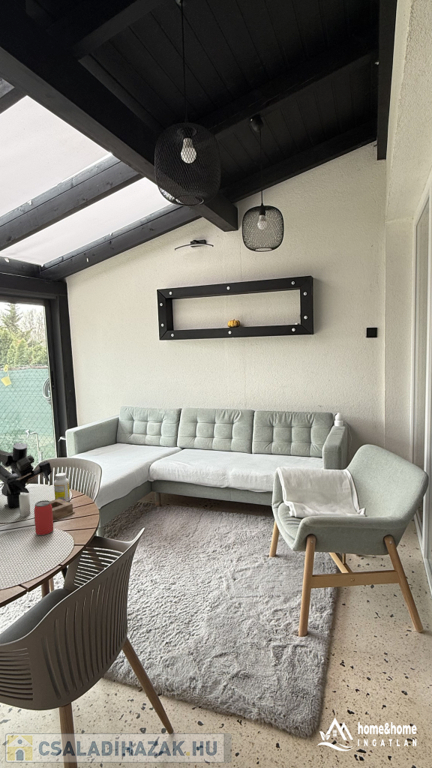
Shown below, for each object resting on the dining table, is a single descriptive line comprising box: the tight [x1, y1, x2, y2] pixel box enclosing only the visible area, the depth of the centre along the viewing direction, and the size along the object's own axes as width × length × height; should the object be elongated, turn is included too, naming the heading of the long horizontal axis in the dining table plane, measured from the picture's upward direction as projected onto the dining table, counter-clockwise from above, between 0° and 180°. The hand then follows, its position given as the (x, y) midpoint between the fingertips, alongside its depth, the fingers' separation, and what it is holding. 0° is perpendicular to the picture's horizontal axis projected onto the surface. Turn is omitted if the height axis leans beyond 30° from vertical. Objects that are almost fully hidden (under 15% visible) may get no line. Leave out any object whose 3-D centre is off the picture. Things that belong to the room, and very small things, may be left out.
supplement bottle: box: [53, 472, 71, 502], centre depth 196 cm, size 7×7×13 cm
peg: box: [19, 492, 31, 517], centre depth 181 cm, size 4×4×9 cm
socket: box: [49, 498, 75, 522], centre depth 181 cm, size 12×12×4 cm
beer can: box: [33, 499, 54, 536], centre depth 163 cm, size 7×7×12 cm
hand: (39, 486), depth 174 cm, fingers open, 9 cm apart
